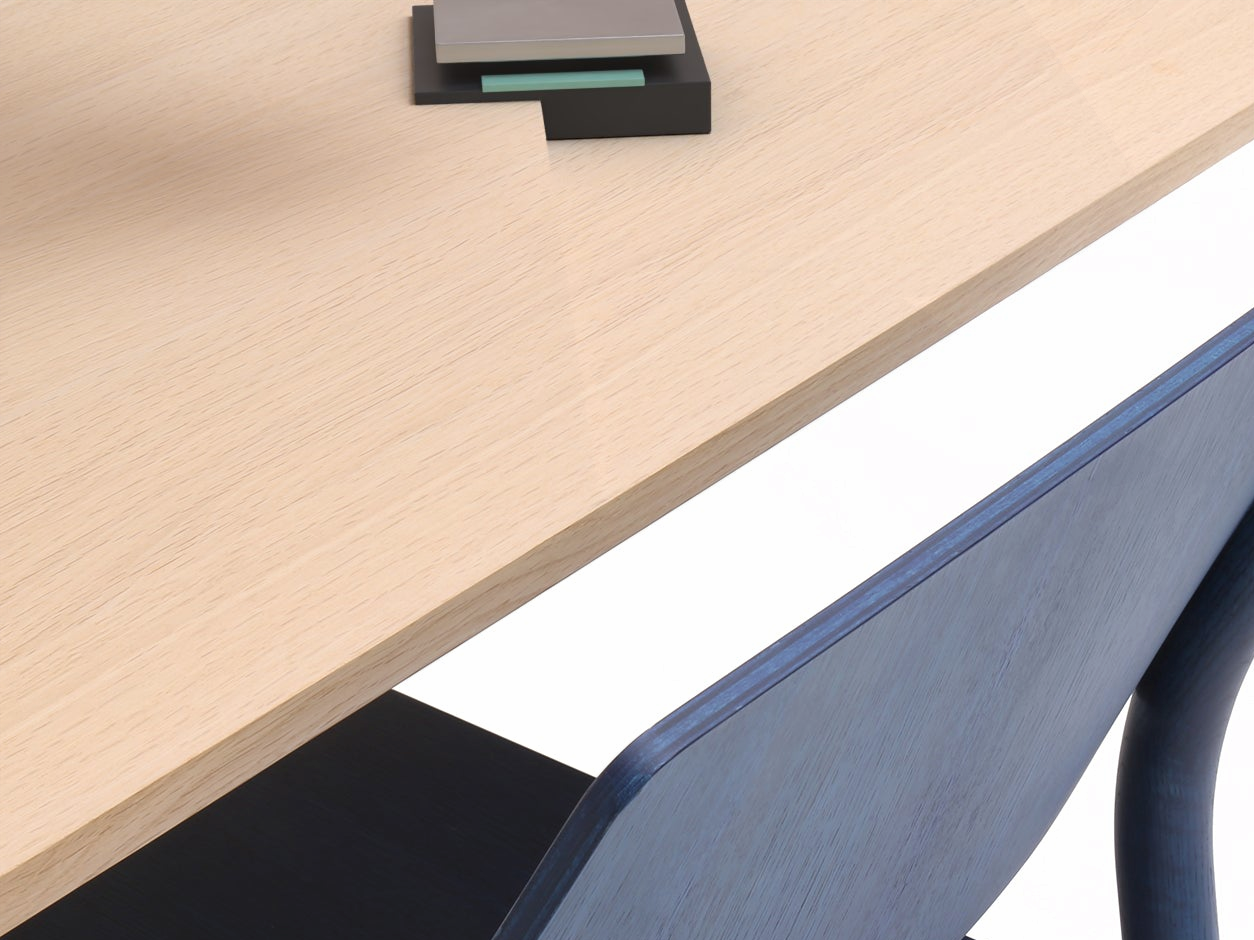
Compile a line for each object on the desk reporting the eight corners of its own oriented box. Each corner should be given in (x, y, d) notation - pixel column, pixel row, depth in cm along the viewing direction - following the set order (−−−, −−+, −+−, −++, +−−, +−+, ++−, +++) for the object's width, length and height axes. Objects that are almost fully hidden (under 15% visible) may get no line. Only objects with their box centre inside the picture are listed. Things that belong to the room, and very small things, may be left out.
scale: (418, 146, 87) (413, 87, 86) (415, 54, 95) (411, -2, 94) (711, 134, 88) (711, 75, 87) (684, 43, 96) (683, -11, 95)
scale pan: (436, 65, 86) (435, 43, 86) (433, -11, 93) (431, -32, 93) (685, 55, 87) (685, 34, 87) (662, -20, 94) (662, -39, 94)
